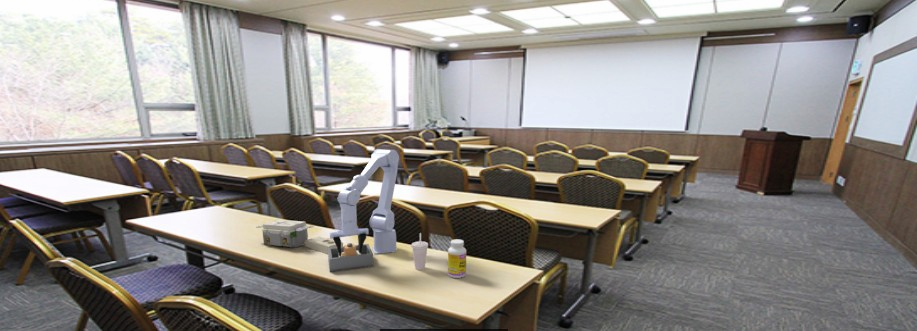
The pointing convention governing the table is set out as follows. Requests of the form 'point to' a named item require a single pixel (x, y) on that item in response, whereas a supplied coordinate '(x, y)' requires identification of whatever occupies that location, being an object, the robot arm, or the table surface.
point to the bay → (350, 259)
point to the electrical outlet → (321, 244)
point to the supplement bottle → (457, 259)
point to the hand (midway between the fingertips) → (350, 253)
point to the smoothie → (419, 254)
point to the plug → (349, 249)
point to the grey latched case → (285, 233)
